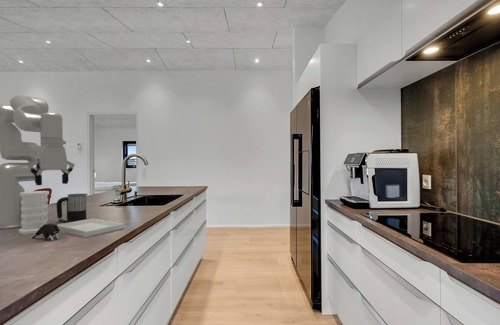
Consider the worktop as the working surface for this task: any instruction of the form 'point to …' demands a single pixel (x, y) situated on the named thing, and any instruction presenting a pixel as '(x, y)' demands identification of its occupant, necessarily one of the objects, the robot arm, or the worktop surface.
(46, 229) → the power plug
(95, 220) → the tray
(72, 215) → the milk frother
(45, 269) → the worktop surface
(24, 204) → the decorative container
